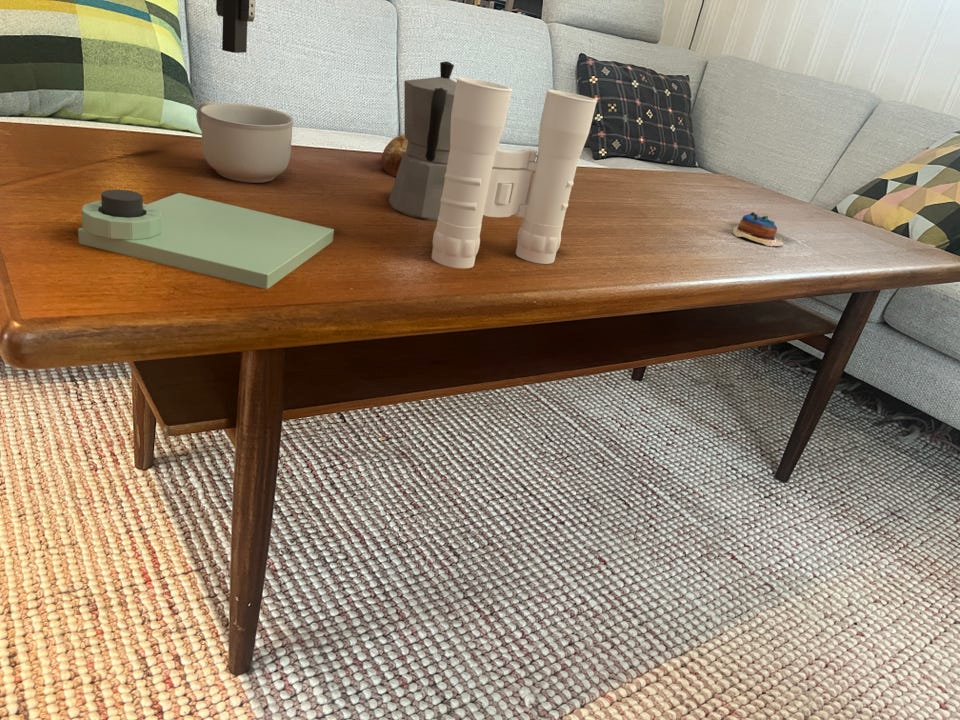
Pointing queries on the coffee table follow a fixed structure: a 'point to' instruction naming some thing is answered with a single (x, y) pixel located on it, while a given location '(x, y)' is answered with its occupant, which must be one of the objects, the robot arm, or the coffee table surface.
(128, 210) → the button
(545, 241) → the binoculars
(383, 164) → the bread roll
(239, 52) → the robot arm
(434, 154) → the coffeepot
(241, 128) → the teacup
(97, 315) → the coffee table surface
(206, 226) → the scale
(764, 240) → the dessert
